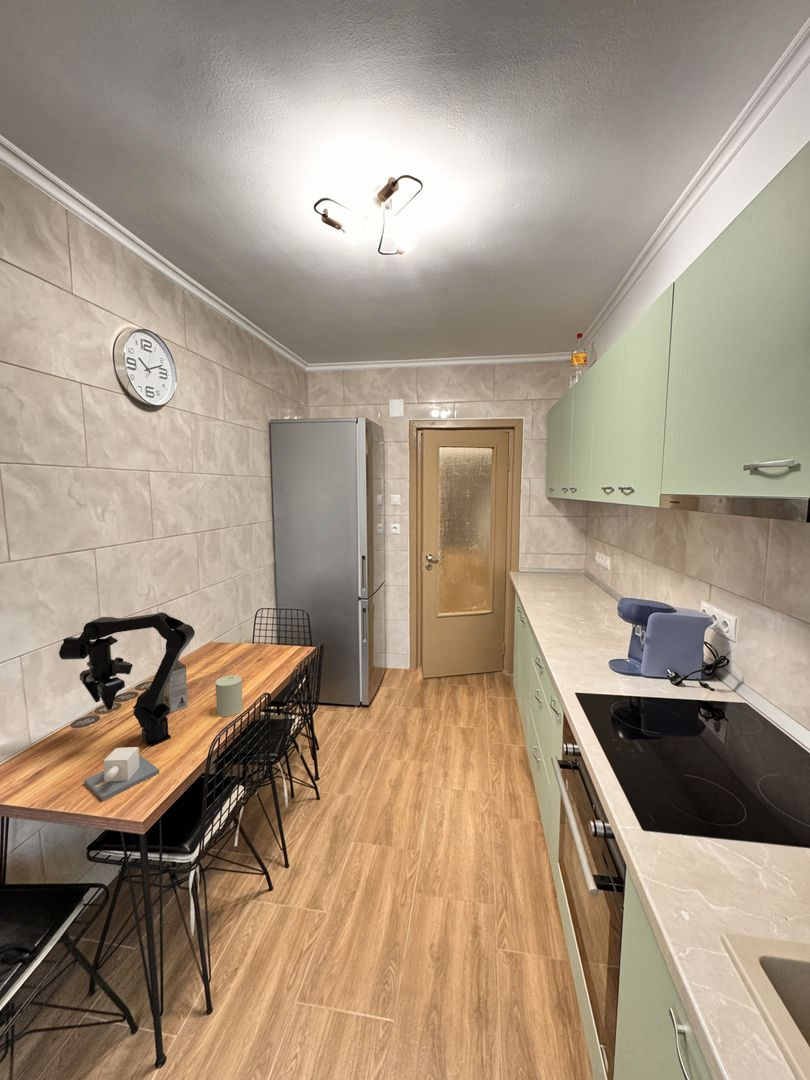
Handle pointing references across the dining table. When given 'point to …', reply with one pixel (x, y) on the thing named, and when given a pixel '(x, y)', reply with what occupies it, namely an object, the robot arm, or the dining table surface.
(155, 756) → the dining table surface
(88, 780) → the grey slotted slab
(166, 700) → the coffee box
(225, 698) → the can
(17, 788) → the dining table surface
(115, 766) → the cream rectangular block
